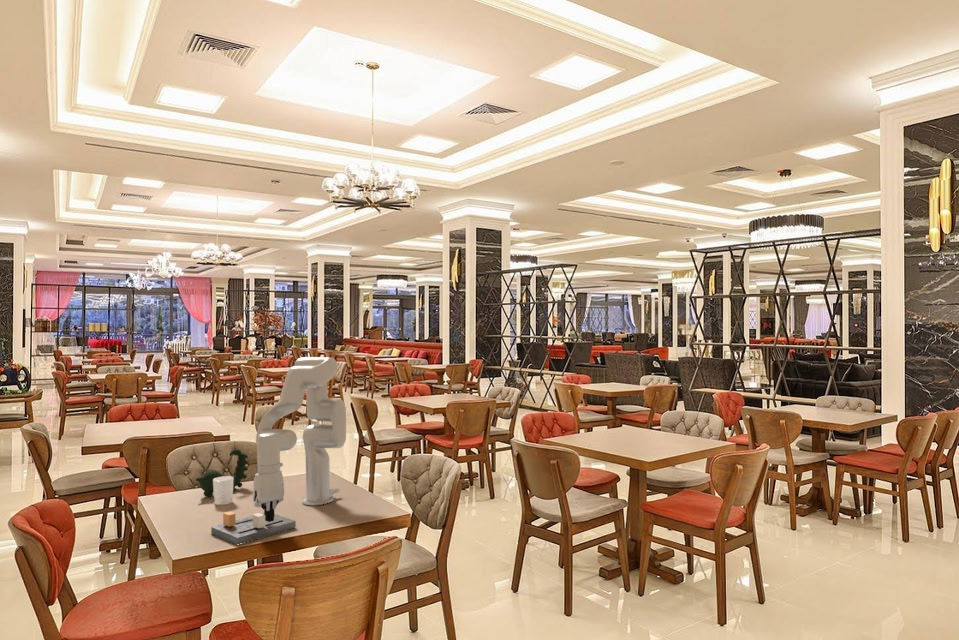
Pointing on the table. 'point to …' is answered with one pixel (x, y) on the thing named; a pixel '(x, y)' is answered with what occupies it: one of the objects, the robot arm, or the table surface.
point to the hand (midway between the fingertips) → (269, 520)
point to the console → (251, 529)
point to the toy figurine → (208, 476)
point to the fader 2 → (258, 520)
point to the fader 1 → (229, 519)
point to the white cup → (223, 490)
